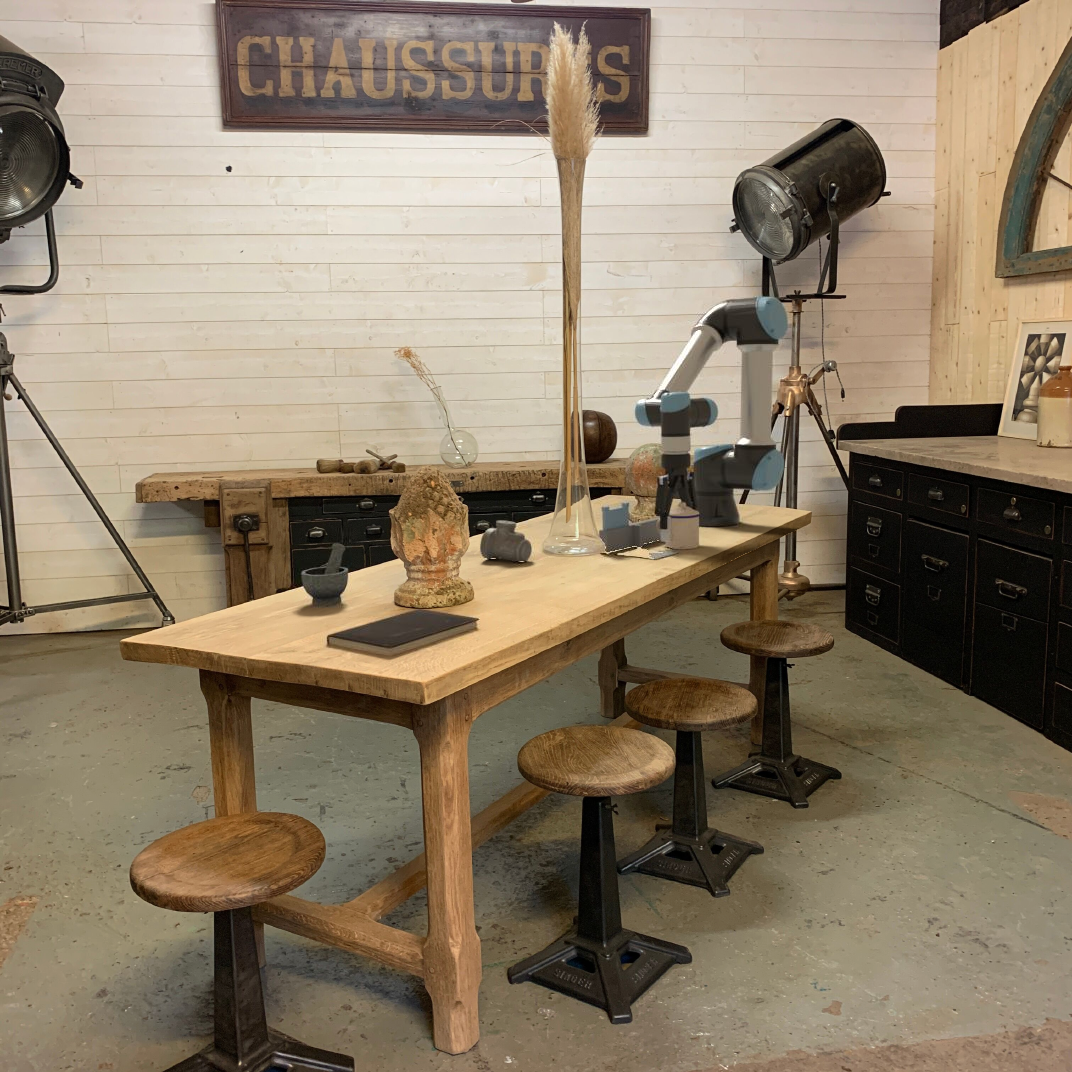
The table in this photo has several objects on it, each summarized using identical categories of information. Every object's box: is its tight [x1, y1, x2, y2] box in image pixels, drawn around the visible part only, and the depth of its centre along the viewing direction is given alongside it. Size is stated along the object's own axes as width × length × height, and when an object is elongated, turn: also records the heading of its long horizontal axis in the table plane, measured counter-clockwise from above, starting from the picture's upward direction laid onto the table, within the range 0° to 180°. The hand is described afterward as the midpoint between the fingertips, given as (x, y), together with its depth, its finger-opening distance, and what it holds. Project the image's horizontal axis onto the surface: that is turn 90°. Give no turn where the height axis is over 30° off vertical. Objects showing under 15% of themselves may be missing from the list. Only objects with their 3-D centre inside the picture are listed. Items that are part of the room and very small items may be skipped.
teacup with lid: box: [656, 501, 700, 550], centre depth 269 cm, size 12×9×12 cm
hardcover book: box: [326, 608, 480, 657], centre depth 188 cm, size 16×23×2 cm
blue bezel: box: [601, 501, 630, 531], centre depth 265 cm, size 10×1×6 cm, turn 138°
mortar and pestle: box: [300, 543, 349, 608], centre depth 216 cm, size 11×9×12 cm
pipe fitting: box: [479, 520, 533, 562], centre depth 257 cm, size 12×8×10 cm
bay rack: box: [598, 516, 680, 560], centre depth 267 cm, size 27×17×6 cm, turn 138°
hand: (676, 538), depth 270 cm, fingers closed on teacup with lid, 9 cm apart
